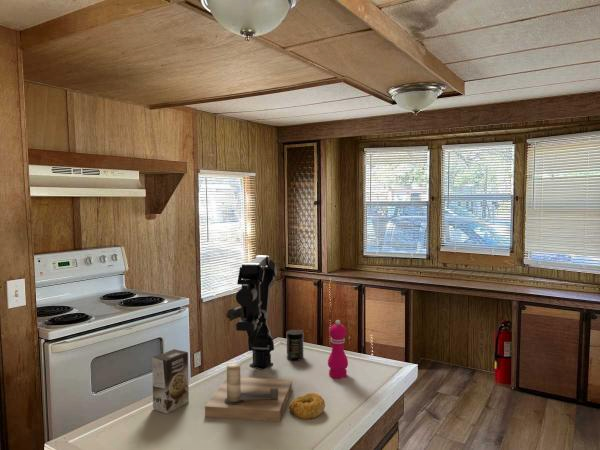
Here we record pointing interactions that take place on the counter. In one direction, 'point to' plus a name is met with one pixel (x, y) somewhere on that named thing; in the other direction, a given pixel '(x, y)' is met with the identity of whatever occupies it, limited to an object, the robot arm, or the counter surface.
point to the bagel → (307, 406)
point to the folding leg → (235, 387)
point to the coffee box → (170, 380)
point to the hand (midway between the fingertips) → (252, 344)
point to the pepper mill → (337, 351)
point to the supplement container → (294, 344)
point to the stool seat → (251, 400)
